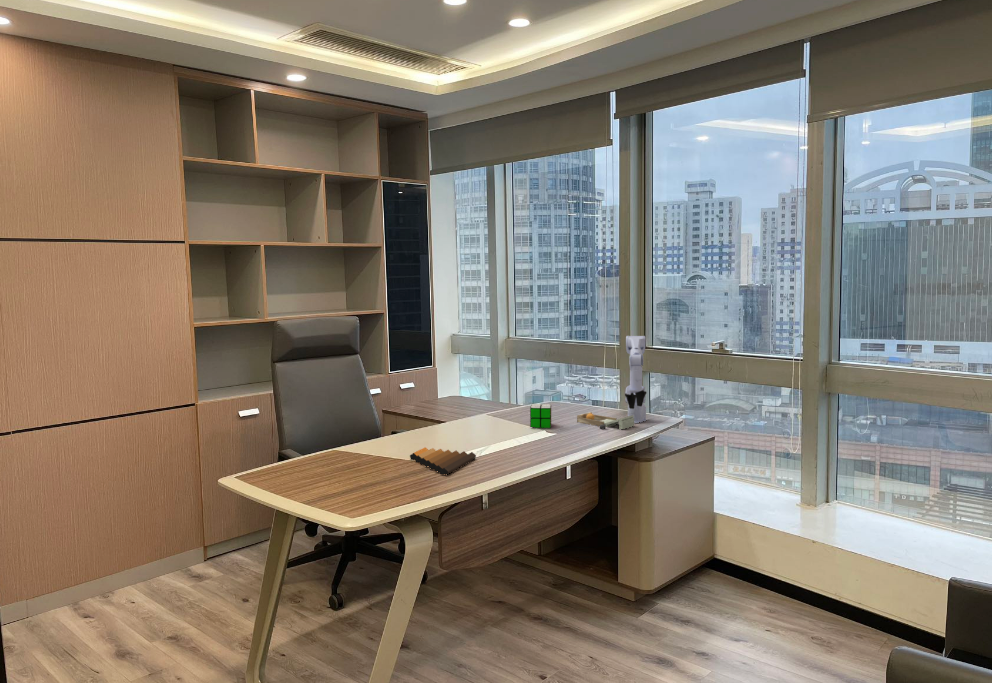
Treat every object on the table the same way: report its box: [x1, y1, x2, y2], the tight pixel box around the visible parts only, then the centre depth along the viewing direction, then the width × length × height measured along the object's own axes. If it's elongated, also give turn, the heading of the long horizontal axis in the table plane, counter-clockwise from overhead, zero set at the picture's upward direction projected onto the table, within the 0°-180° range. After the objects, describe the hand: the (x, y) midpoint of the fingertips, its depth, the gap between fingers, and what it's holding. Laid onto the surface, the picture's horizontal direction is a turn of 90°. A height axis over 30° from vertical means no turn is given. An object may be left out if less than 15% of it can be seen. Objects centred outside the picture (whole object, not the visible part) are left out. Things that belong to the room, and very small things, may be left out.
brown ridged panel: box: [409, 446, 477, 475], centre depth 278 cm, size 25×3×25 cm
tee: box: [599, 425, 607, 430], centre depth 338 cm, size 3×3×2 cm
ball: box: [586, 412, 595, 420], centre depth 354 cm, size 4×4×4 cm
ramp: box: [602, 415, 635, 430], centre depth 344 cm, size 10×16×6 cm, turn 46°
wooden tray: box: [576, 411, 618, 427], centre depth 352 cm, size 11×16×4 cm
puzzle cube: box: [529, 403, 552, 429], centre depth 345 cm, size 10×10×10 cm
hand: (635, 407), depth 339 cm, fingers open, 7 cm apart
